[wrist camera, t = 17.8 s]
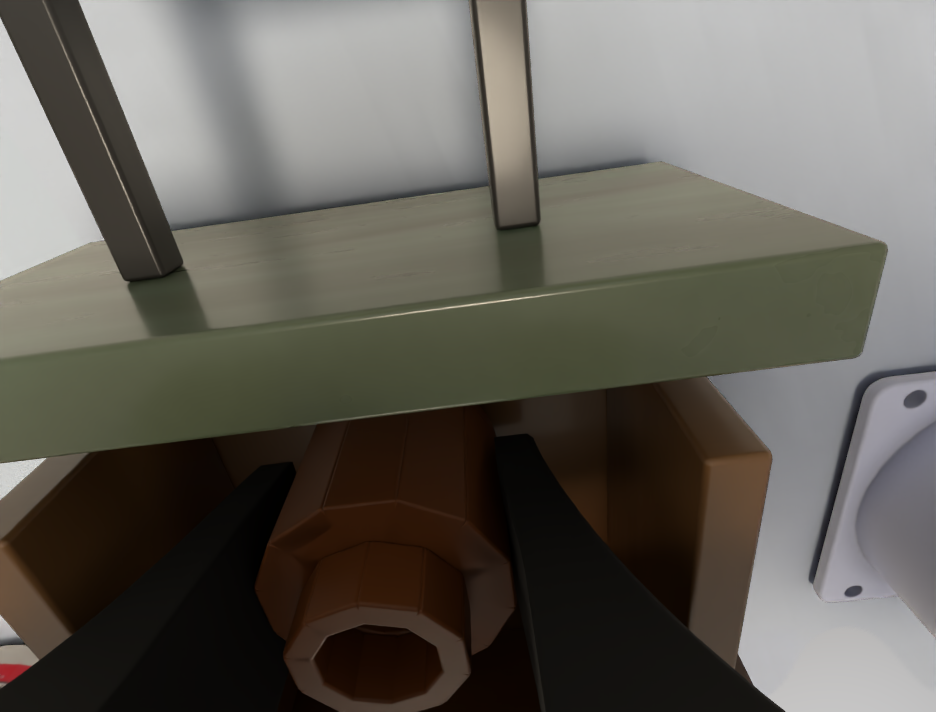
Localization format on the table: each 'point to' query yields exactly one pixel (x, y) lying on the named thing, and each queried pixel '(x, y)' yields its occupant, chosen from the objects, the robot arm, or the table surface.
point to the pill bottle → (14, 662)
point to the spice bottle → (390, 560)
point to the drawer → (403, 349)
